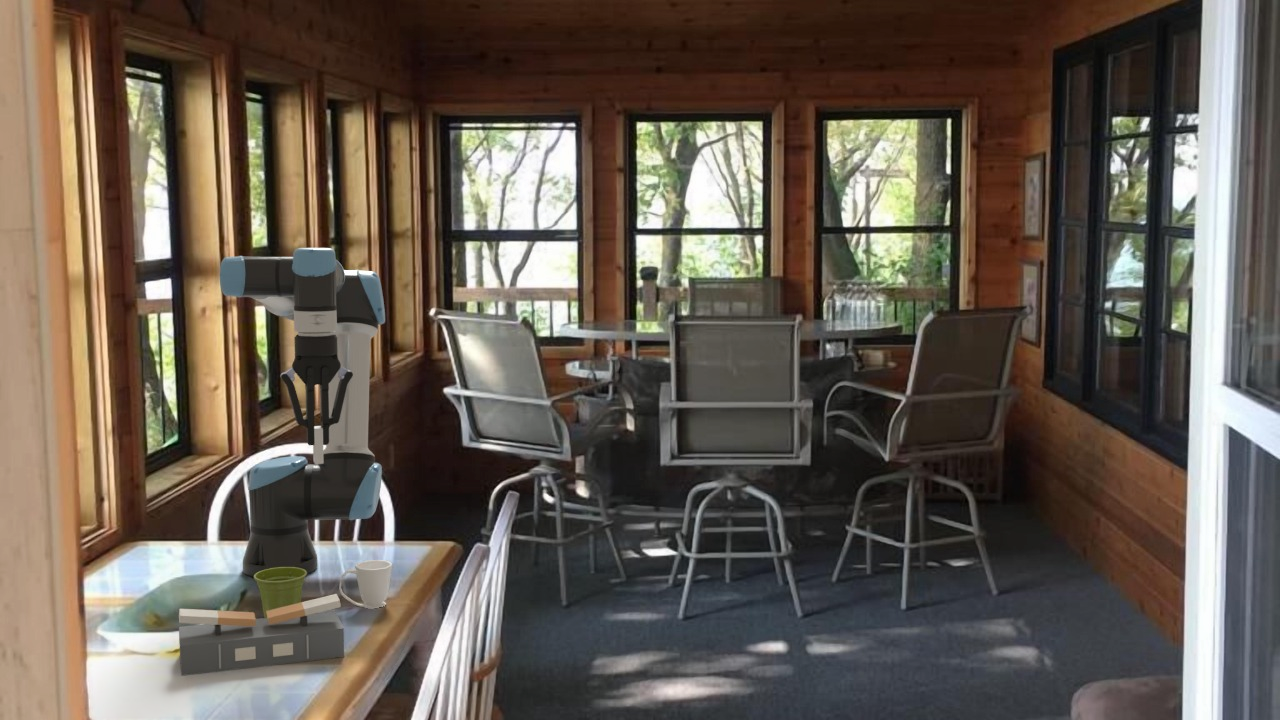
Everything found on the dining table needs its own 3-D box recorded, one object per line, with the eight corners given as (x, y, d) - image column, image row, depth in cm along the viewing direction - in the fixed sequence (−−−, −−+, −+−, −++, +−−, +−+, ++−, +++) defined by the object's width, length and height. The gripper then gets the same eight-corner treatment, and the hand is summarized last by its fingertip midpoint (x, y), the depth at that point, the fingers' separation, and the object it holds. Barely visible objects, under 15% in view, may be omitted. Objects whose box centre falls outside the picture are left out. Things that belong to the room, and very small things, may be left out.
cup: (392, 610, 243) (391, 569, 242) (338, 612, 241) (337, 570, 240) (393, 599, 250) (393, 559, 249) (341, 601, 248) (340, 560, 247)
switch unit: (179, 655, 217) (178, 617, 217) (336, 638, 227) (335, 602, 226) (181, 676, 208) (180, 636, 207) (344, 657, 217) (343, 619, 216)
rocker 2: (267, 617, 219) (265, 610, 219) (337, 600, 223) (336, 593, 223) (269, 624, 215) (268, 618, 215) (340, 606, 219) (339, 600, 219)
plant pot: (260, 630, 231) (259, 583, 230) (250, 615, 239) (249, 570, 238) (313, 623, 235) (312, 577, 234) (301, 608, 243) (300, 564, 242)
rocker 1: (178, 615, 214) (179, 608, 214) (252, 619, 218) (253, 612, 218) (179, 622, 210) (180, 615, 210) (254, 626, 214) (255, 619, 214)
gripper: (280, 336, 225) (283, 468, 228) (355, 334, 230) (357, 464, 233) (276, 332, 232) (279, 460, 235) (349, 330, 237) (351, 456, 240)
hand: (318, 462), depth 234 cm, fingers closed
